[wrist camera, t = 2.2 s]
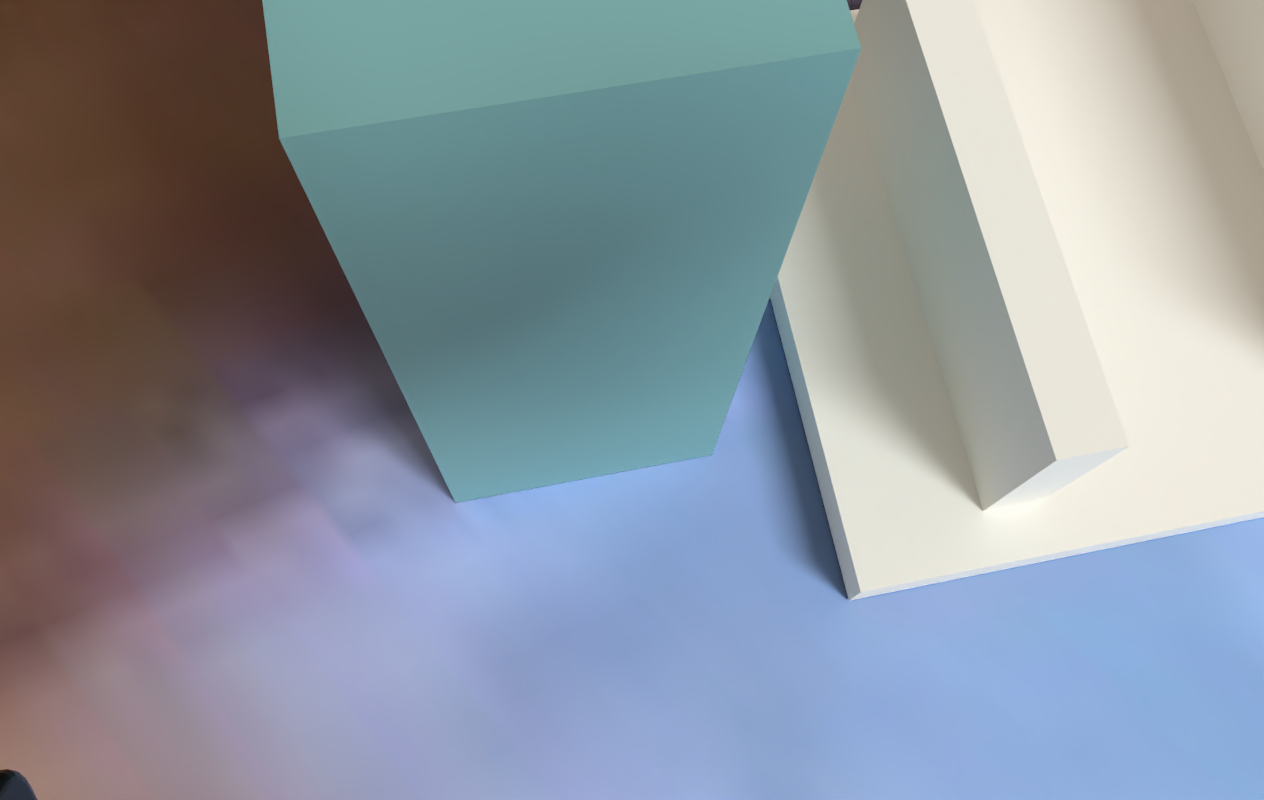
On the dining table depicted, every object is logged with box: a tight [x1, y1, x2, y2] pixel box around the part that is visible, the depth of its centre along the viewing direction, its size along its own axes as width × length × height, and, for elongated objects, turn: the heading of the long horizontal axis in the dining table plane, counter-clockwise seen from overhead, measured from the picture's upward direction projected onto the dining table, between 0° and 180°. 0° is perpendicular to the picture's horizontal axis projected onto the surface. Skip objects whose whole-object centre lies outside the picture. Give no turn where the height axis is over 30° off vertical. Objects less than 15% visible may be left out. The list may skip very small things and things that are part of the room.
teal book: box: [262, 0, 861, 503], centre depth 17 cm, size 6×5×13 cm
